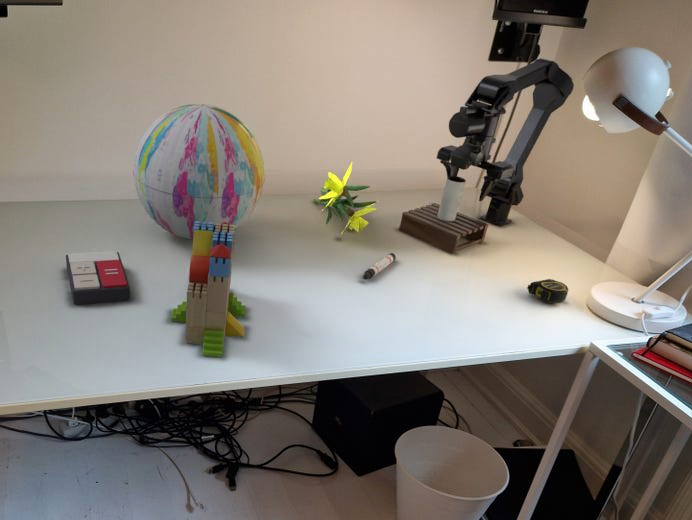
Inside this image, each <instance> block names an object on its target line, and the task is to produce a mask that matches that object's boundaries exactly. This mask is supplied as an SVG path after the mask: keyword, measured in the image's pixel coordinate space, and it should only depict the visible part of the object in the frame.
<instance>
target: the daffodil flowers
mask: <svg viewBox="0 0 692 520" xmlns="http://www.w3.org/2000/svg"><path fill="white" fill-rule="evenodd" d="M352 170H353V162H351V163H350V164H349V167H348V168H347V170H346V172H345V174H344V176H343V177H342V180H341V179H339V177H338V176H337V175H336V174H334V173H333V172H330V171H328V172H327V175H328V177H327V178H326V180H325V181H324V184H323V188H320V190H319V192H320V193H321V195H322V196H320V197H319V198H318V199H316V198H313V201H314V202H315V203H317V204H319V205H323V206H324V208H323V210H325V209H326V210H327V215H326V219H325V225H328V224H329V222H330V221H331V219H332V216H333V213H332V209H333V211H334V212H335V213H336V215H337V216H338V218H339V220H340V221H341V223H342V224H344V218H343V217H344V216H343V214H344V215H345V216H346V217H347V218H348V222H347V224H346V226H345V228H344V229H343V230H342V231H341V233H340V235H342V234H343V232H344V231H345V229H346V228H347V227H348V228H349V229H350V230H351V231H352V230H353V229H354V230H355V231H356V232H357V233H358V232H359V230H360V231H363V230H364V228H366V227H367V225H368V224H369V222H368V221H367V220H365V219H364V218H362V217H361V216H364V215H366V214H369V213H371V212H374V211H376V210H377V208H376V207H373V205H375V204H376V203H377V202H378V200H373V201H364V202H363V201H361V202H354V200H356V199H357V198H358V197H359V195H353V196H352V195H351V194H350V192H359V191H363V190H366V189H369V188H371V186H370V185H360V184H359V185H358V184H357V185H353V184H347V181H348V179H349V178H350V175H351V173H352ZM349 191H350V192H349ZM343 197H345V198H343ZM350 207H351V208H350ZM331 208H332V209H331ZM352 208H353V209H352ZM361 208H363V209H361ZM354 209H361V210H358V211H355V210H354ZM342 213H343V214H342Z"/></svg>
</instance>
